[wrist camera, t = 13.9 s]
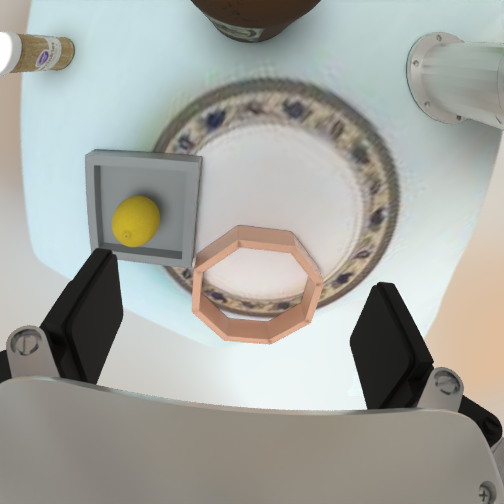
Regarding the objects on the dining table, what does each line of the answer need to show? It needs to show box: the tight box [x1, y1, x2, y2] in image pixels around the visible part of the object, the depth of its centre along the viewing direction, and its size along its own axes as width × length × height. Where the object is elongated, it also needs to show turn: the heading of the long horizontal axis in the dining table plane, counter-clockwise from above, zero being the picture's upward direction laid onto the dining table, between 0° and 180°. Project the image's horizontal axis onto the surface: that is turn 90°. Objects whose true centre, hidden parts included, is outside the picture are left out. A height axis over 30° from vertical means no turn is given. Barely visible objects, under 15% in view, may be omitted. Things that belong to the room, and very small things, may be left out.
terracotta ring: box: [192, 225, 324, 344], centre depth 45 cm, size 17×17×4 cm
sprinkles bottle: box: [0, 32, 74, 76], centre depth 23 cm, size 5×5×13 cm
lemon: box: [112, 196, 160, 247], centre depth 36 cm, size 6×6×8 cm
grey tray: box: [85, 149, 202, 268], centre depth 39 cm, size 14×14×3 cm
